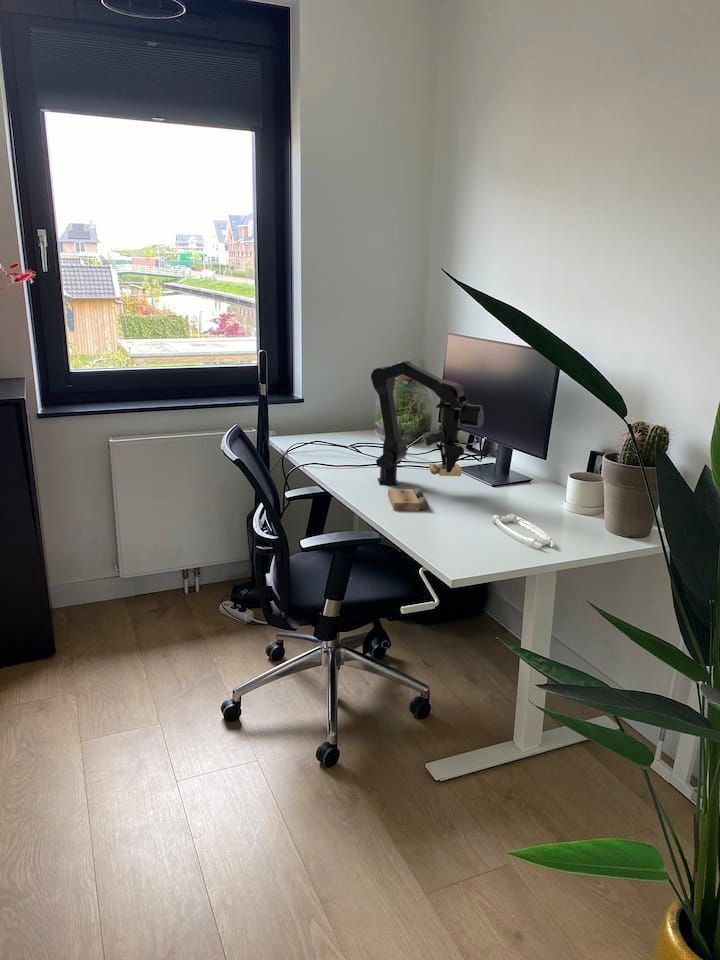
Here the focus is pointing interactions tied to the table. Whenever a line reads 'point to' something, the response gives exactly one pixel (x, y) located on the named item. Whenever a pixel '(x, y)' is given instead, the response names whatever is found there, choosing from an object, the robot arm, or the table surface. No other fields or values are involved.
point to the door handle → (527, 541)
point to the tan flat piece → (407, 499)
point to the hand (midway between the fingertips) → (446, 469)
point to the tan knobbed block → (445, 470)
